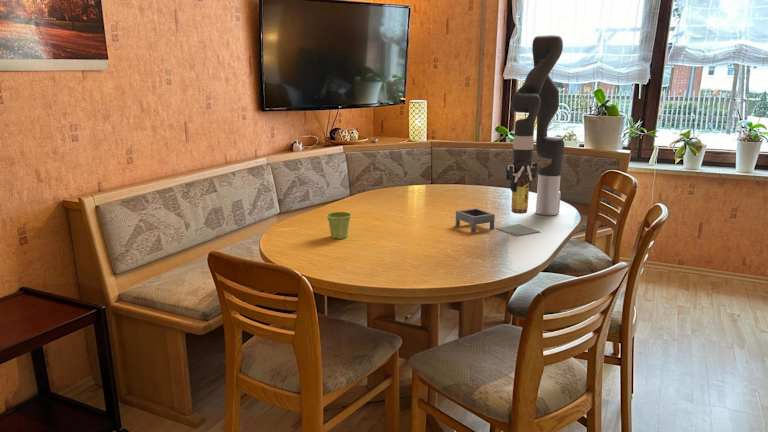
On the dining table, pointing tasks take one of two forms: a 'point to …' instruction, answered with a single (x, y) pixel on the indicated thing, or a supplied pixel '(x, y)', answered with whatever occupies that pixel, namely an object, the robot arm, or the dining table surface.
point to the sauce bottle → (521, 193)
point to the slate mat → (518, 230)
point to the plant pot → (339, 224)
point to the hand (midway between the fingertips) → (520, 190)
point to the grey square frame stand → (475, 218)
